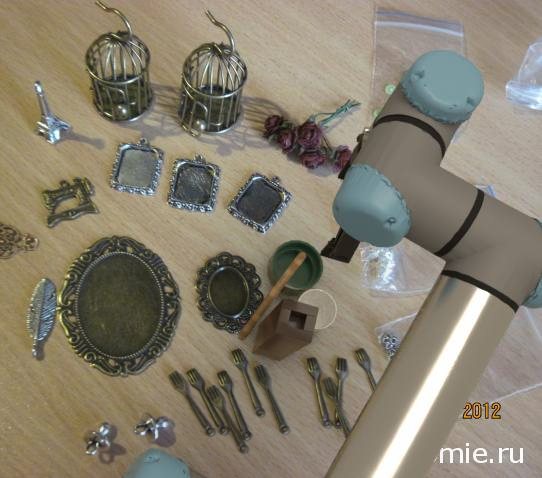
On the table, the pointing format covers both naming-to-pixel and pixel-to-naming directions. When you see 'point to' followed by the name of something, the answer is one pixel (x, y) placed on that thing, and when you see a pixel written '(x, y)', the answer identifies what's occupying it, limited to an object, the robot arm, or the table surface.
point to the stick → (272, 295)
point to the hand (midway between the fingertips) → (337, 216)
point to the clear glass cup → (320, 307)
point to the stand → (285, 329)
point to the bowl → (306, 271)
